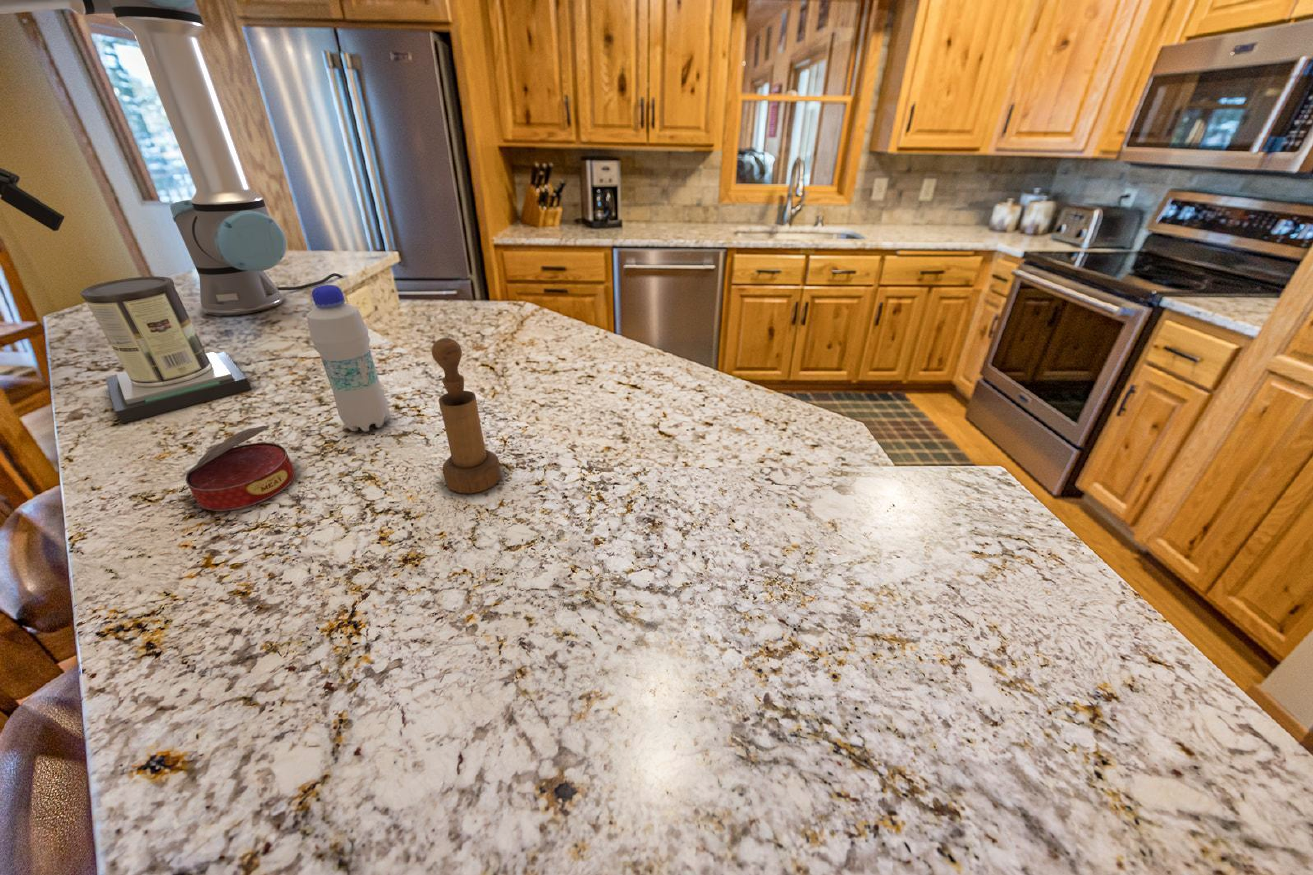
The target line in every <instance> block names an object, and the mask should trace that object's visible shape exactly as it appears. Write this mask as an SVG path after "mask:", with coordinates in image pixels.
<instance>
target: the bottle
mask: <svg viewBox="0 0 1313 875" xmlns="http://www.w3.org/2000/svg"><path fill="white" fill-rule="evenodd" d="M311 297H312V300H313V303H314V305H315V307H314V308H313V309H311V310H310V311H309V312H307V314H306V321H307V324H308V325H307V326H308V330H309V337H310V341H311V342H312V344H313V348H314V351H316V352H317V353H318V354H319V357H320V359H321V362H322V364H323V367H324V370H325V373H326V376H327V379H328V383H329V384H330V388H331V391H332V394H333V398H334V402H335V406H336V410H337V413H338V417H339V419H340V420H341V422H342V423H343V424H344V425H345V426H346V428H347V429H348V430H350V431H352V432H358V431H359V428H360V429H361V431H362V432H369V431H370V426H371V425H373V424H374V427H375V428H377V429H379V428H381V427H382V426H383V425H384V423H386V422H387V421H388V420H389V418H390V408H389V404H388V401H387V397H386V395H385V393H384V390H383V388H382V385H381V382H380V380H379V379H380V378H379V376H378V372H377V369H376V366H375V361H374V358H373V354H372V351H371V348H370V342H371V338H370V337H369V329H368V327H367V325H366V323H365V321H364V319H363V317H362V314H361V312H360V310H359V308H358V307H357V306H355V305H352V304H349V303H345V302H346V300H345V296H344V293H343V291H342V289H341V288H340V287H339V286H337V285H334V284H324V285H319V286H315V288H313V289H312V292H311Z"/></svg>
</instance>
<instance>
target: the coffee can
mask: <svg viewBox="0 0 1313 875" xmlns="http://www.w3.org/2000/svg"><path fill="white" fill-rule="evenodd" d="M79 295H80V296H81V298H82V299H83V300H84V301H85V302H86V304H87V306H88V308H89V309H90V311H91V313H92V315H93V317H94V318H95V320H96V321H97V323H98V325H99V327H100V328H101V330H102V332H103V334H104V336H105V337H106V339H107V341H108V343H109V345H110V346H111V348H112V349H113V350H112V351H114V353H115V355H116V356H117V359H118V360H119V362H120V363H121V366H122V368H123V369H124V372H127V374H128V376H129V378H130V379H131V383H132V384H133V385H135V386H140V387H157V386H165V385H171V384H176V383H180V382H183V381H187V380H190V379H193V378H195V377H198V376H200V375H202V374H204V373H206V372H207V371H209V370H210V369H211V367H212V363H211V362H210V360H209V358H208V356H207V352H206V350H205V348H204V346H203V344H202V342H201V339H200V337H199V336H198V334H197V332H196V329H195V327H194V325H193V323H192V321H191V318H190V316H189V314H188V312H187V310H186V308H185V306H184V303H183V302H182V299H181V297H180V295H179V293H178V291H177V288H176V287H175V281H174V280H173V278H172V277H167V276H157V275H156V276H153V275H152V276H137V277H127V278H121V279H115V280H109V281H106V282H101V283H96V284H94V285H91V286H87V287H86V288H83V289H81V290H80V292H79Z"/></svg>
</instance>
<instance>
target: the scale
mask: <svg viewBox="0 0 1313 875" xmlns="http://www.w3.org/2000/svg"><path fill="white" fill-rule="evenodd" d="M206 354H207V356H208V358H209V360H210V362H211V363H212V367H211V369H210V370H209V371H207V372H206V373H204V374H202V375H200V376H198V377H195V378H193V379H190V380H187V381H183V382H180V383H176V384H171V385H165V386H157V387H140V386H135V385H133V384H132V383H131V379H130V378H129V376H128V374H127V372H126V371H121V372H116V373H115V375H113V376H108V377H105V378H104V379H105V383H106V386H107V390H108V393H109V397H110V399H111V403H112V407H113V410H114V413H115V415H116V416H117V418H118V419H119V421H120V423H121V424H122V425H124V424H127V423H131V422H135V421H138V420H142V419H146V418H150V417H153V416H157V415H161V414H165V413H169V412H172V411H176V410H180V409H184V408H187V407H190V406H194V405H199V404H202V403H206V402H209V401H213V400H217V399H222V398H225V397H229V396H233V395H236V394H239V393H244V392H247V391H251V390H252V387H251V384H250V382H249V380H248V378H247V376H246V375H245V373H243V372H242V371H241V369H240V368H239V367H238V366H237V364H236V363H235V362H234V361H233V360H232V358H231V357H230V356H229V354H228V353H227V352H226V351H220V352H215V351H211V352H208V353H207V352H206Z"/></svg>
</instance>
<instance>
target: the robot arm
mask: <svg viewBox="0 0 1313 875" xmlns="http://www.w3.org/2000/svg"><path fill="white" fill-rule="evenodd" d="M63 9H64V10H65V9H68V10H71V11H72V12H74V13H75V14H78V15H79V16H87V15H88V16H89V15H101V14H102V15H104V14H105V15H114V17H115V19H116V21H117V23H119V24H120V25H122V26H124V27H125V28H126V29H127V30H129V31H130V32H131V33H132V34H133V35H134V37H135V39H136V43H137V45H138V47H139V50H140V52H141V55H142V58H143V60H144V62H145V64H146V68H147V70H148V72H149V76H150V77H151V80H152V82H153V85H154V87H155V90H156V92H157V95H158V98H159V99H160V102H161V104H162V108H163V110H164V112H165V115H166V117H167V120H168V123H169V125H170V127H171V130H172V132H173V135H174V138H175V140H176V143H177V146H178V147H179V150H180V153H181V155H182V158H183V160H184V162H185V165H186V167H187V170H188V173H189V175H190V178H191V180H192V182H193V185H194V188H195V193H194V195H193V196H192V198H191V199H186V200H183V199H182V200H177V201H173V202H171V203H170V206H169V209H170V213H171V215H172V221H173V222H174V223H175V225H176V227H177V229H178V231H179V234H180V236H181V238H182V240H183V243H184V245H185V247H186V249H187V252H188V254H189V256H190V258H191V261H192V263H193V265H194V268H195V269H196V272H197V274H198V277H199V295H200V296H199V298H200V304H201V308H202V310H203V312H204V313H205V314H206V315H209V316H216V317H230V316H241V315H248V314H254V313H258V312H263V311H266V310H270V309H272V308H275V307H277V306H279V305H280V304H281V305H282V303H283V301H284V299H283V296H282V294H281V292H280V291H299V290H303V289H308V288H311V287H316V286H318V285H321V284H324V283H326V282H328V281H329V280H331V279H332V278H333V277H337V278H339V279H342V278H344V276H343V275H342V274H340V273H337V272H335V273H330V274H328V275H327V276H326V277H324V278H323V279H321V280H317V281H314V282H311V283H306V284H302V285H297V286H276V285H275V283H274V282H273V281H272V280H271V279H270V277H269V276H268V275H267V274H266V272H265V271H268V270H271V269H272V268H274V267H276V266H278V264H280V263H281V261H282V260H283V258H284V257H285V255H286V251H287V238H286V235H285V233H284V231H283V229H282V227H281V226H280V225H279V224H278V222H276V220H274V218H272V217H270V215H269V211H268V208H267V205H266V203H265V200H264V198H263V196H262V195H261V194H259V193H258V192H256V191H255V190H254V189H252V188H251V185H250V183H249V180H248V177H247V174H246V172H245V169H244V166H243V163H242V160H241V158H240V155H239V152H238V149H237V146H236V143H235V141H234V138H233V135H232V131H231V129H230V126H229V122H228V121H227V118H226V115H225V112H224V108H223V106H222V104H221V101H220V98H219V95H218V91H217V89H216V86H215V83H214V80H213V78H212V75H211V72H210V69H209V66H208V63H207V60H206V58H205V54H204V52H203V49H202V46H201V43H200V41H199V40H200V36H201V34H203V31H204V30H205V25H204V22H203V19H202V16H201V13H200V10H199V7H198V4H197V1H196V0H0V15H3V14H5V15H6V14H15V13H29V12H39V11H52V10H63ZM20 179H21V177H20V175H18V174H15V173H13V172H11V171H9V170H7V169H4V168H2V167H0V200H2V201H3V202H5V203H6V204H8V205H10V206H11V207H13V208H15V209H16V210H18V211H20V212H21V213H23V214H24V215H26V216H28V217H30V218H31V219H32V220H34V221H36V222H38V223H40V224H41V225H43V226H45V227H46V228H48V229H50V230H51V231H53V232H57V231H59V229H60V228H61V226H62V224H63V221H64V220H65V215H63V214H62V213H60V212H58V211H57V210H55V209H53V208H51V207H50V206H49V205H47V204H46V203H43V202H42V201H40V200H39V199H38V198H37V197H36V196H33V195H32V194H30V193H28V192H27V191H25V190H23V189H22V188H20V187H19V186H18V184H19V182H20Z"/></svg>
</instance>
